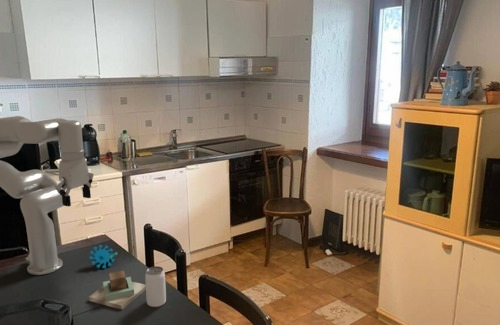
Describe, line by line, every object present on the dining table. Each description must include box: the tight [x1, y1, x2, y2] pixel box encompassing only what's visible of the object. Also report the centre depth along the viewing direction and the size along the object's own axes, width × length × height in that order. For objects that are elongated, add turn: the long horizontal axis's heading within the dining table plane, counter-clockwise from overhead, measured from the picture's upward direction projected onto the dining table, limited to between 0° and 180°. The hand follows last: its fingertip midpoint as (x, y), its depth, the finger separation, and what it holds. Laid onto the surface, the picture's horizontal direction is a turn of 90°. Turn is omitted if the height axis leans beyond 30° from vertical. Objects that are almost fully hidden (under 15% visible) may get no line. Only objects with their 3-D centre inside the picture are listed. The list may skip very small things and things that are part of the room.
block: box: [108, 270, 127, 292], centre depth 144 cm, size 5×5×6 cm
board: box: [88, 281, 146, 310], centre depth 145 cm, size 14×14×2 cm
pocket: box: [102, 276, 134, 301], centre depth 145 cm, size 10×10×2 cm
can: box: [144, 265, 167, 308], centre depth 139 cm, size 6×6×12 cm
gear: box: [88, 244, 119, 270], centre depth 167 cm, size 11×6×10 cm
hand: (77, 201), depth 150 cm, fingers open, 9 cm apart
